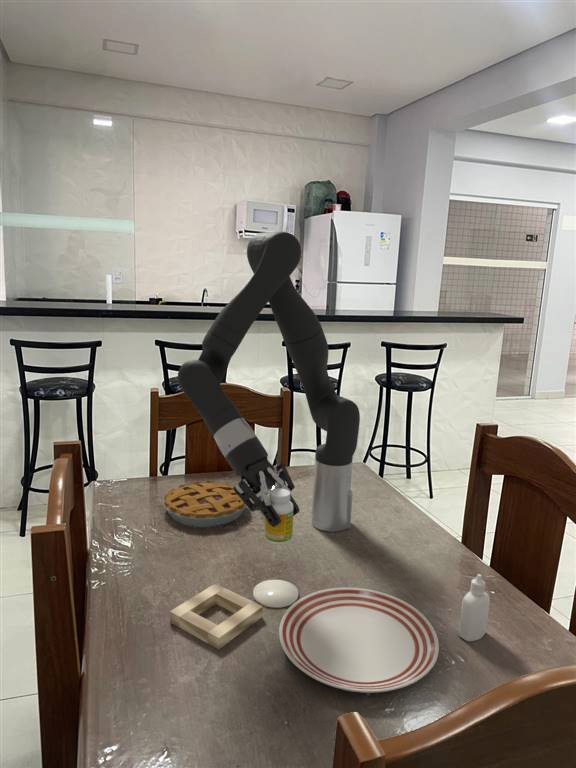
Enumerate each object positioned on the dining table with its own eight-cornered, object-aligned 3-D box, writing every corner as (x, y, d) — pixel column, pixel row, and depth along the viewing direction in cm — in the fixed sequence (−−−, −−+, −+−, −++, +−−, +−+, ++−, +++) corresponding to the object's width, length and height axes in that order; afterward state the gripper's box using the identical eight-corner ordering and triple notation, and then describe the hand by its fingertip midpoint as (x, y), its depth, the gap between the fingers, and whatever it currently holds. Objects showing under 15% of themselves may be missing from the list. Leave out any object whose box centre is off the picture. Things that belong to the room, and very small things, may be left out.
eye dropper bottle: (452, 627, 109) (459, 568, 106) (481, 626, 110) (489, 568, 107) (462, 642, 105) (469, 582, 102) (492, 641, 105) (500, 581, 103)
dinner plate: (402, 734, 84) (404, 714, 84) (247, 660, 98) (247, 642, 97) (457, 635, 107) (459, 619, 106) (325, 586, 121) (326, 572, 120)
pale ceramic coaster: (294, 581, 122) (294, 578, 122) (302, 606, 113) (302, 603, 113) (251, 583, 121) (251, 580, 120) (255, 609, 112) (255, 606, 112)
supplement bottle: (289, 547, 111) (291, 499, 109) (261, 543, 112) (263, 496, 110) (294, 534, 117) (296, 488, 114) (268, 530, 118) (269, 485, 115)
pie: (147, 507, 155) (147, 489, 153) (217, 488, 169) (217, 472, 167) (191, 539, 138) (191, 519, 137) (264, 515, 152) (264, 497, 151)
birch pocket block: (214, 593, 116) (215, 583, 116) (262, 616, 110) (262, 606, 109) (169, 622, 107) (169, 611, 106) (218, 649, 100) (218, 638, 100)
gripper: (226, 445, 109) (276, 523, 105) (273, 428, 120) (319, 498, 116) (205, 465, 113) (252, 541, 109) (252, 447, 124) (296, 515, 120)
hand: (286, 518), depth 112 cm, fingers closed on supplement bottle, 5 cm apart
